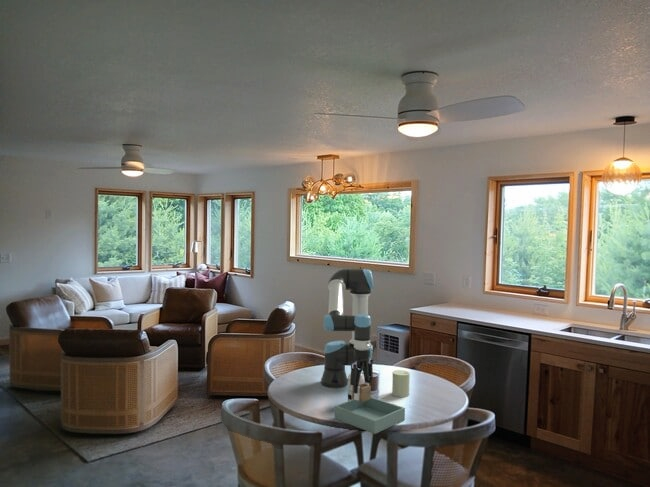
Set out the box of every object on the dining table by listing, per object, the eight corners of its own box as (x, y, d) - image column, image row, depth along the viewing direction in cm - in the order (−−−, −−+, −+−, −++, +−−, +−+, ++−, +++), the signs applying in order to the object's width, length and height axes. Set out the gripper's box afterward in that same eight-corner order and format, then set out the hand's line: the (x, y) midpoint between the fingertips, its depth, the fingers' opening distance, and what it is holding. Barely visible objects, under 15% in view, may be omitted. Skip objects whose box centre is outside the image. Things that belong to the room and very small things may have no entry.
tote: (334, 418, 219) (334, 406, 219) (364, 406, 235) (365, 394, 234) (374, 434, 203) (375, 421, 203) (404, 420, 218) (404, 407, 218)
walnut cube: (352, 398, 222) (352, 385, 222) (360, 395, 226) (360, 383, 226) (362, 402, 217) (362, 388, 217) (370, 398, 222) (370, 386, 222)
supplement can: (346, 401, 241) (346, 371, 241) (362, 400, 242) (363, 371, 242) (348, 407, 233) (349, 376, 233) (365, 406, 234) (365, 376, 234)
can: (409, 397, 247) (409, 374, 247) (391, 396, 249) (391, 373, 249) (409, 392, 256) (410, 369, 256) (392, 390, 258) (392, 368, 258)
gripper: (354, 353, 212) (354, 405, 212) (381, 346, 225) (380, 395, 226) (342, 350, 217) (341, 400, 218) (369, 343, 231) (368, 391, 231)
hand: (361, 398), depth 222 cm, fingers closed on walnut cube, 6 cm apart
